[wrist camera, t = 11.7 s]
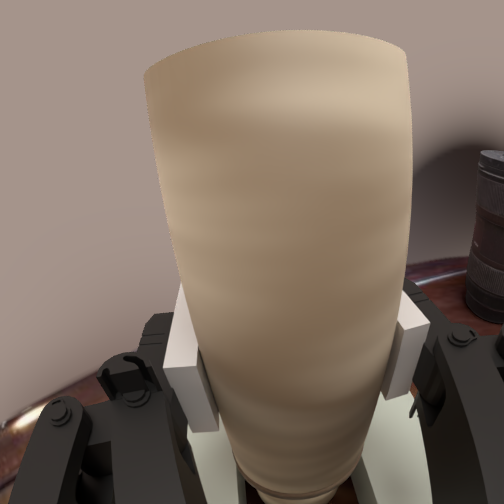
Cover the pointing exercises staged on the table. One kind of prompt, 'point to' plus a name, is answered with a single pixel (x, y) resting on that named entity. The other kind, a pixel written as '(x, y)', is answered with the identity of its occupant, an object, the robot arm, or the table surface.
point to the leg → (289, 238)
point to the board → (363, 477)
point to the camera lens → (488, 241)
